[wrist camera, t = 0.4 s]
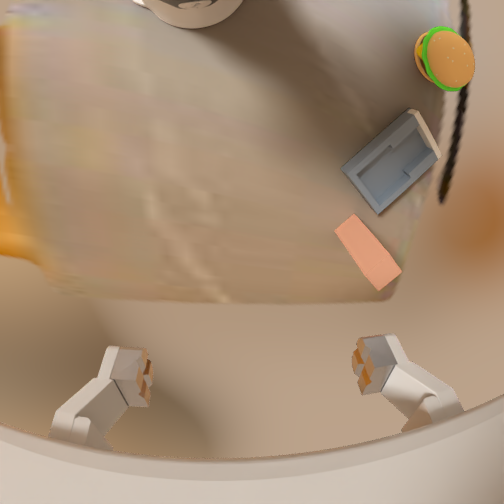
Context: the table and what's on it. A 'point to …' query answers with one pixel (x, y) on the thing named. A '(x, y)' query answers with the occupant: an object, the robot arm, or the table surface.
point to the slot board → (393, 160)
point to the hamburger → (444, 58)
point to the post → (368, 252)
